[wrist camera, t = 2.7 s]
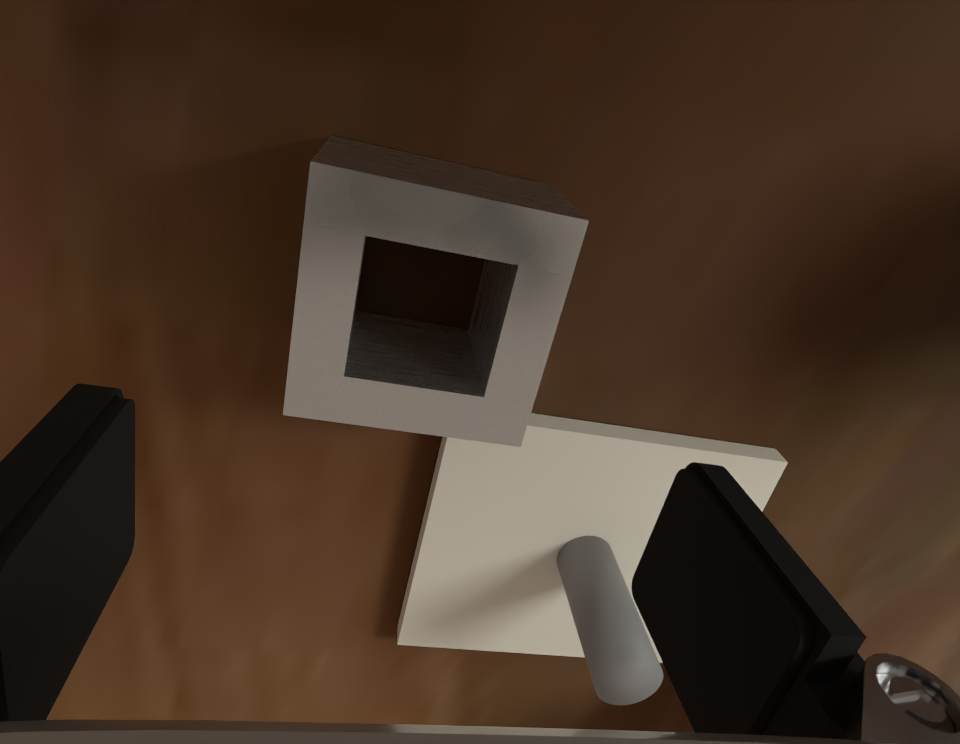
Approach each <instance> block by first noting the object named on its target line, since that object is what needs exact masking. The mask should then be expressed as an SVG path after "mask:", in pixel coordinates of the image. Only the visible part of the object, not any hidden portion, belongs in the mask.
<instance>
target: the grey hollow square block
mask: <svg viewBox="0 0 960 744" xmlns="http://www.w3.org/2000/svg"><path fill="white" fill-rule="evenodd" d="M588 223H589V220H588V219H587V218H586V217H584V216H583V215H582V214H581V213H580V212H579V211H578V210H577V209H576V208H575V207H574V206H572V205H571V204H570V203H569V202H568V201H567V200H566V199H565V198H564V197H563V196H561V195H560V194H559V193H558V192H557V191H556V190H555V189H554V188H553V187H552V186H551V185H549V184H546V183H542V182H538V181H533V180H529V179H524V178H520V177H515V176H511V175H506V174H502V173H497V172H493V171H488V170H484V169H479V168H475V167H470V166H466V165H461V164H457V163H452V162H448V161H443V160H439V159H434V158H430V157H425V156H421V155H416V154H412V153H407V152H403V151H398V150H394V149H389V148H385V147H380V146H376V145H371V144H367V143H362V142H358V141H353V140H349V139H344V138H340V137H335V136H331V137H330V138H329V139H328V140H327V142H326V143H325V144H324V145H323V146H322V148H321V149H320V150H319V151H318V153H317V154H316V155H315V156H314V157H313V159H312V160H311V161H310V169H309V178H308V187H307V197H306V206H305V215H304V224H303V233H302V243H301V252H300V261H299V270H298V279H297V289H296V298H295V307H294V316H293V325H292V335H291V344H290V353H289V362H288V372H287V381H286V390H285V399H284V408H283V415H286V416H293V417H301V418H308V419H316V420H323V421H331V422H338V423H345V424H353V425H360V426H368V427H375V428H383V429H390V430H398V431H405V432H412V433H420V434H427V435H435V436H442V437H450V438H457V439H464V440H472V441H479V442H487V443H494V444H502V445H509V446H517V447H521V444H522V441H523V438H524V434H525V431H526V428H527V424H528V421H529V418H530V415H531V411H532V408H533V405H534V401H535V398H536V395H537V391H538V388H539V385H540V381H541V378H542V375H543V372H544V368H545V365H546V362H547V358H548V355H549V352H550V348H551V345H552V342H553V338H554V335H555V332H556V329H557V325H558V322H559V319H560V315H561V312H562V309H563V305H564V302H565V299H566V295H567V292H568V289H569V286H570V282H571V279H572V276H573V272H574V269H575V266H576V262H577V259H578V256H579V253H580V249H581V246H582V243H583V239H584V236H585V233H586V229H587V226H588ZM367 236H369V237H374V238H379V239H384V240H390V241H395V242H400V243H405V244H410V245H415V246H421V247H426V248H431V249H436V250H441V251H446V252H452V253H457V254H462V255H467V256H472V257H477V258H483V259H485V260H484V264H483V268H482V272H481V276H480V281H479V285H478V289H477V293H476V297H475V302H474V306H473V310H472V314H471V318H470V323H469V327H468V329H463V328H457V327H451V326H445V325H440V324H434V323H428V322H422V321H416V320H410V319H404V318H398V317H393V316H387V315H381V314H375V313H369V312H363V311H357V310H356V304H357V297H358V291H359V284H360V278H361V271H362V265H363V258H364V252H365V245H366V238H367Z"/></svg>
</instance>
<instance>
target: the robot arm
mask: <svg viewBox="0 0 960 744" xmlns="http://www.w3.org/2000/svg"><path fill="white" fill-rule="evenodd" d="M134 539H135V405H134V401H133V400H131V399H123V395H122V391H121V390H120V389H118V388H110V387H102V386H94V385H87V384H77V385H75V386H74V387H73V388H72V389H71V390H70V391H69V392H68V393H67V394H66V395H65V396H64V397H63V398H62V399H61V400H60V401H59V402H58V403H57V404H56V405H55V406H54V407H53V408H52V409H51V410H50V411H49V413H48V414H47V415H46V416H45V417H44V418H43V419H42V420H41V421H40V422H39V423H38V424H37V425H36V426H35V427H34V428H33V429H32V430H31V431H30V432H29V433H28V434H27V435H26V436H25V437H24V438H23V439H22V440H21V441H20V442H19V443H18V445H17V446H16V447H15V448H14V449H13V450H12V451H11V452H10V453H9V454H8V455H7V456H6V457H5V458H4V459H3V460H2V461H1V462H0V744H960V697H959V696H958V695H957V694H956V693H955V692H954V691H953V690H952V689H951V688H950V687H949V686H948V685H947V684H946V683H944V682H943V681H942V680H940V679H939V678H938V677H937V676H935V675H934V674H933V673H931V672H929V671H928V670H926V669H924V668H923V667H921V666H919V665H918V664H916V663H913V662H911V661H909V660H907V659H904V658H902V657H899V656H895V655H891V654H874V655H872V656H870V657H868V658H867V660H866V661H864V660H863V659H862V658H861V656H860V655H859V654H858V653H857V651H858V649H859V648H860V646H861V645H862V643H863V642H864V640H865V639H866V636H865V635H864V634H863V632H862V631H861V630H860V629H859V628H858V626H857V625H856V624H855V623H854V622H853V620H852V619H851V618H850V617H849V616H848V614H847V613H846V612H845V611H844V610H843V608H842V607H841V606H840V605H839V604H838V602H837V601H836V600H835V599H834V598H833V596H832V595H831V594H830V593H829V592H828V590H827V589H826V588H825V587H824V586H823V584H822V583H821V582H820V581H819V580H818V578H817V577H816V576H815V575H814V574H813V572H812V571H811V570H810V569H809V568H808V566H807V565H806V564H805V563H804V562H803V560H802V559H801V558H800V557H799V556H798V554H797V553H796V552H795V551H794V550H793V548H792V547H791V546H790V545H789V544H788V542H787V541H786V540H785V539H784V538H783V536H782V535H781V534H780V533H779V532H778V530H777V529H776V528H775V527H774V526H773V524H772V523H771V522H770V521H769V520H768V518H767V517H766V516H765V515H764V514H763V512H762V511H761V510H760V509H759V508H758V506H757V505H756V504H755V503H754V502H753V500H752V499H751V498H750V497H749V496H748V494H747V493H746V492H745V491H744V490H743V488H742V487H741V486H740V485H739V484H738V482H737V481H736V480H735V479H734V478H733V476H732V475H731V474H730V473H729V472H728V470H727V469H726V468H724V467H723V466H719V465H712V464H704V463H696V462H692V463H690V464H689V465H688V466H686V468H685V469H680V470H679V471H678V472H677V474H676V476H675V478H674V481H673V483H672V486H671V488H670V490H669V493H668V495H667V497H666V500H665V502H664V505H663V507H662V509H661V512H660V514H659V516H658V519H657V521H656V524H655V526H654V528H653V531H652V533H651V535H650V538H649V540H648V543H647V545H646V547H645V550H644V552H643V554H642V557H641V559H640V562H639V564H638V566H637V569H636V571H635V573H634V576H633V579H632V595H633V598H634V601H635V603H636V605H637V607H638V609H639V612H640V614H641V616H642V618H643V620H644V622H645V625H646V627H647V629H648V631H649V633H650V636H651V638H652V640H653V642H654V644H655V646H656V649H657V651H658V653H659V655H660V657H661V660H662V662H663V664H664V666H665V668H666V670H667V673H668V675H669V677H670V679H671V681H672V684H673V686H674V688H675V690H676V692H677V694H678V697H679V699H680V701H681V703H682V705H683V708H684V710H685V712H686V714H687V716H688V718H689V721H690V723H691V725H692V727H693V729H694V732H695V733H687V732H657V731H627V730H594V729H558V728H522V727H485V726H446V725H407V724H360V723H312V722H264V721H217V720H46V718H47V716H48V714H49V712H50V711H51V709H52V707H53V705H54V703H55V701H56V699H57V697H58V695H59V693H60V691H61V689H62V688H63V686H64V684H65V682H66V680H67V678H68V676H69V674H70V672H71V670H72V668H73V666H74V664H75V663H76V661H77V659H78V657H79V655H80V653H81V651H82V649H83V647H84V645H85V643H86V641H87V639H88V638H89V636H90V634H91V632H92V630H93V628H94V626H95V624H96V622H97V620H98V618H99V616H100V614H101V613H102V611H103V609H104V607H105V605H106V603H107V601H108V599H109V597H110V595H111V593H112V591H113V589H114V588H115V586H116V584H117V582H118V580H119V578H120V576H121V574H122V572H123V570H124V568H125V566H126V565H127V563H128V561H129V558H130V556H131V553H132V549H133V545H134Z"/></svg>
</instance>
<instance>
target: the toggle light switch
mask: <svg viewBox="0 0 960 744" xmlns="http://www.w3.org/2000/svg"><path fill="white" fill-rule="evenodd" d="M692 462H696V463H704V464H712V465H719V466H723V467H724V468H726V469H727V470H728V472H729V473H730V474H731V475H732V476H733V478H734V479H735V480H736V481H737V482H738V484H739V485H740V486H741V487H742V488H743V490H744V491H745V492H746V493H747V494H748V496H749V497H750V498H751V499H752V500H753V502H754V503H755V504H756V505H757V506H758V508H759V509H760V510H761V511H763V509H764V507H765V505H766V503H767V502H768V500H769V498H770V496H771V494H772V492H773V490H774V488H775V486H776V484H777V482H778V481H779V479H780V477H781V475H782V473H783V471H784V469H785V467H786V465H787V463H788V462H787V461H786V460H785V459H784V458H783V457H782V456H781V454H780V453H779V452H778V451H777V450H776V449H773V448H767V447H760V446H753V445H746V444H739V443H732V442H726V441H719V440H712V439H705V438H698V437H691V436H684V435H678V434H671V433H664V432H657V431H650V430H643V429H637V428H630V427H623V426H616V425H609V424H602V423H595V422H589V421H582V420H575V419H568V418H561V417H554V416H548V415H541V414H534V413H531V415H530V418H529V421H528V424H527V428H526V431H525V434H524V438H523V441H522V444H521V447H517V446H509V445H502V444H494V443H487V442H479V441H472V440H464V439H457V438H450V437H442V441H441V445H440V449H439V453H438V458H437V462H436V466H435V470H434V474H433V479H432V483H431V487H430V491H429V495H428V500H427V504H426V508H425V512H424V516H423V521H422V525H421V529H420V533H419V538H418V542H417V546H416V550H415V554H414V559H413V563H412V567H411V571H410V575H409V580H408V584H407V588H406V592H405V596H404V601H403V605H402V609H401V613H400V618H399V622H398V626H397V645H409V646H424V647H439V648H453V649H468V650H483V651H498V652H513V653H528V654H543V655H557V656H572V657H585V659H586V662H587V666H588V669H589V672H590V676H591V679H592V682H593V686H594V689H595V692H596V694H597V696H598V697H599V698H600V699H601V700H602V701H604V702H606V703H608V704H612V705H629V704H634V703H637V702H640V701H642V700H644V699H646V698H648V697H649V696H651V695H652V694H653V693H655V692H656V691H657V689H658V688H659V687H660V685H661V683H662V681H663V671H662V668H661V666H660V664H659V662H662V660H661V657H660V655H659V653H658V651H657V649H656V646H655V644H654V642H653V640H652V638H651V636H650V633H649V631H648V629H647V627H646V625H645V622H644V620H643V618H642V616H641V614H640V612H639V609H638V607H637V605H636V603H635V601H634V598H633V595H632V579H633V576H634V573H635V571H636V569H637V566H638V564H639V562H640V559H641V557H642V554H643V552H644V550H645V547H646V545H647V543H648V540H649V538H650V535H651V533H652V531H653V528H654V526H655V524H656V521H657V519H658V516H659V514H660V512H661V509H662V507H663V505H664V502H665V500H666V497H667V495H668V493H669V490H670V488H671V486H672V483H673V481H674V478H675V476H676V474H677V472H678V471H679V470H680V469H685V468H686V466H688V465H689V464H690V463H692ZM662 663H663V662H662Z"/></svg>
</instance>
